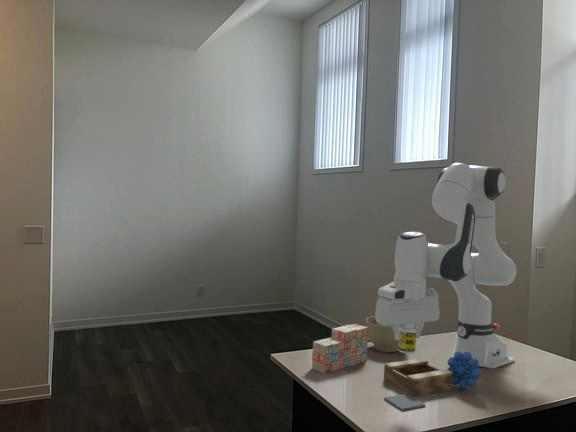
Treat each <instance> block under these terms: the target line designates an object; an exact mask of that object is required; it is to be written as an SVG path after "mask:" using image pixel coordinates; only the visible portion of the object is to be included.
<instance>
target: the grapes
mask: <svg viewBox="0 0 576 432" xmlns="http://www.w3.org/2000/svg"><path fill="white" fill-rule="evenodd" d="M471 358H472V354H471V353H470V352H468V351H467V352H464V353H463V354H462V353H461V352H459V351H457V352H456V353H455V354H454V358H453V357H452V356H451V357H449V358H448V359H447V362H446V363H447V366H448V367H447V368H446V370H448V371H450V372H452V373H453V376H452V386H458V387H459V389H461V390H466V389H467V388H468V387H470V388H473V387H474V386H476V385H477V379H478V378H479V377H481V375H482V372H481V369H479V368H478V367H479V366H478V365H479V361H478V360H477V359H476V358H472V359H471Z"/></svg>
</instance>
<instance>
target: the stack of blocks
mask: <svg viewBox="0 0 576 432" xmlns="http://www.w3.org/2000/svg"><path fill="white" fill-rule="evenodd" d="M368 343H369V335H368V327H367V326H363V325H360V324H357V323H353V324H345V325H342V326H338V327H334V328H333V327H332V328H331V337H327V338H323V339H318V340H314V341H313V343H312V352H311V354H312V355H311V356H312V359H311V368H312V369H313V370H315V371H318V372H321V373H323V374H327V373H330V372H335V371H337V370H341V369H344V368H347V367H351V366H354V365H359V364H361V362H362V363H364V362H367V361H368Z"/></svg>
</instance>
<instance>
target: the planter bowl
mask: <svg viewBox="0 0 576 432" xmlns="http://www.w3.org/2000/svg"><path fill="white" fill-rule="evenodd" d="M365 322H366V327H368V339H369V340H370V342H371V343H372V344H373V347H374V349H375V350H377V351H378V352H379V351H380V352H386V353H392V352H393V353H394V352H397V351H398V340H396V339H395V338H394V334H395V333H394V331H393V329H392V327H391V325H390V326H382V325H380V324H378V323H377V322H376V320H375V316H374V315H373V316H369V317H367V318H366V319H365ZM400 327H401V325H400ZM398 329H399V328H398ZM398 352H399V351H398Z"/></svg>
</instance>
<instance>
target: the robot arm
mask: <svg viewBox="0 0 576 432" xmlns="http://www.w3.org/2000/svg"><path fill="white" fill-rule="evenodd" d="M436 180H437V181H436V185H435V187H434V190H433V192H432V195H431V206H432V209H434V211H435V213H436V214H437V215H438V216H440V217H441V218H442V219H444V220H445V221H448V222H451V223H452V224H453V223H454V224H455V225H456V226H457V227H456V232H455V233H456V234H455V239H454V242H453V243H451V244H442V243H432V242H429V241H427V236H426V233H425V234H424V232H421V231H405V232H403V233H400V234H399V235H398V237H397V241H396V244H395V249H394V251H395V252H394V267H395V272H394V274H393V275H394V276H393V281H392V282H390V283H388V284H385V285H383V286H381V287H379V288H378V290H377V294H378V296H379V297H378V298H377V301H376V303H375V304H376V305H375V310H374V311H375V313H374V314H375V320H376V322H377V323H378V324H380V325H382V326H390V325H391V327H392V329H393V331H394V333H395V334H394V338H395V339H396V340H402V336H403V334H402V333H400V332H399V329H398V328H400V325H401V324H409V323H415V328H414V329H416V339H419V338H421V332H422V330H423V328H424V327H425V323H430V322H437V321H438V320H439V319H440V302H439V301H440V300H439V292H438V291H437V290H436V289H435V288H427V277H431V278H436V279H437V278H439V279H444V280H448V282H449V283H450V284H451V285H452V287H453V288H454V290H455V294H456V295H457V301H458V318H457V320H456V335H455V340H454V345H453V347H454V348H453V349H452V352H451V353H452V354H451V357H453V358H454V354H455V353H456V352H457V351H459V352H461V353H462V354H463V353H464V352H467V351H468V352H470V353H471V354H472V358H476V359H477V360H478V361H479V365H478V367H482V368H487V369H496V368H498V367H501V366H502V367H503V366H505V365H508V364H510V363H511V364H512V363H513V362H515V357H513V356H511V355H509V354H508V345H507V344H506V342H505V341H503V339H502V338H500V337H499V336H498V335H497V334H496V333H495V330H497V331H498V330H499V329H500V327H501V325H500V324H499V323H495V322H493V323H492V308H493V306H492V305H493V304H492V301H491V300H490V298H489V297H488V296H486V295H485V294H483V293H481V292H480V291H479V290H478V288H476V284H477V285H486V286H491V287H493V286H494V287H496V286H497V287H498V286H499V287H500V286H509V285H511V284H512V283H513V282H514V280H515V278H516V276H517V266H516V264H515V261H513V259H512V258H511V257H509V256H508V255H507V254H506V253H505V252H504V251H503V250H502V248H501V247H500V245H499V243H498V241H497V237H496V202H495V199H498V198H499V197H500V196H501V195H502V194H503V193H504V189H505V187H506V175H505V173H504V171H503V170H502V168H499V167H498V166H497V167H496V166H492V165H490V166H485V165H484V166H482V165H468V164H467V163H464V162H463V163H462V162H455V163H452V164H451V165H449V166H447V167H444V168H443V169H441V171H440V172H439V173H438V176H437V179H436ZM472 246H474V247H475V248H476V249H477V251H478V252H472ZM494 329H495V330H494ZM472 358H471V359H472Z"/></svg>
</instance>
